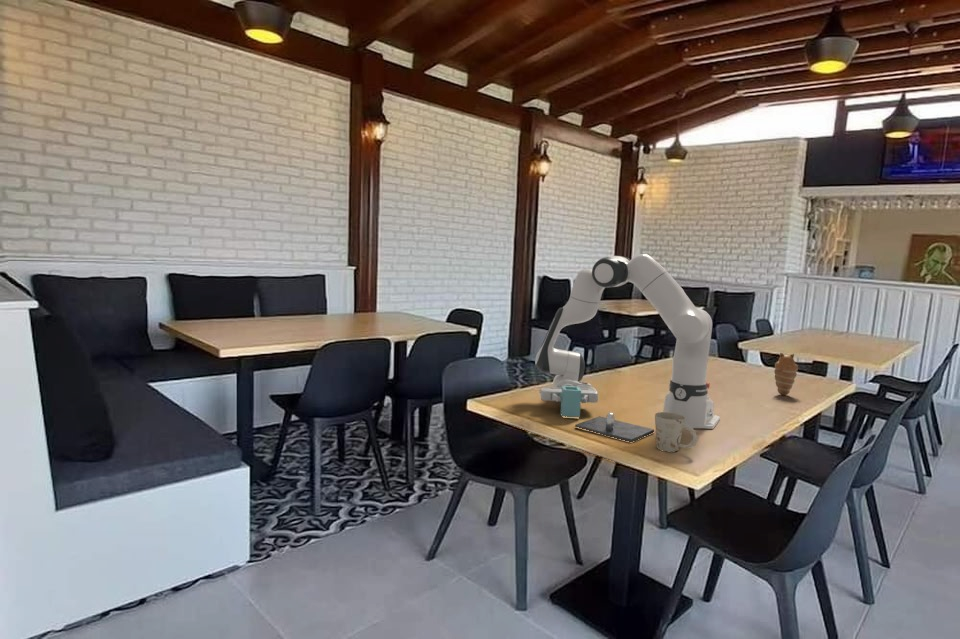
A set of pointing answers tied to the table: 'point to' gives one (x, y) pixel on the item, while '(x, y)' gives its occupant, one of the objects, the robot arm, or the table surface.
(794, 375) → the cat ice cream
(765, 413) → the table surface
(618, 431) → the plate
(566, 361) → the robot arm
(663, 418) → the mug
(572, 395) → the sleeve
